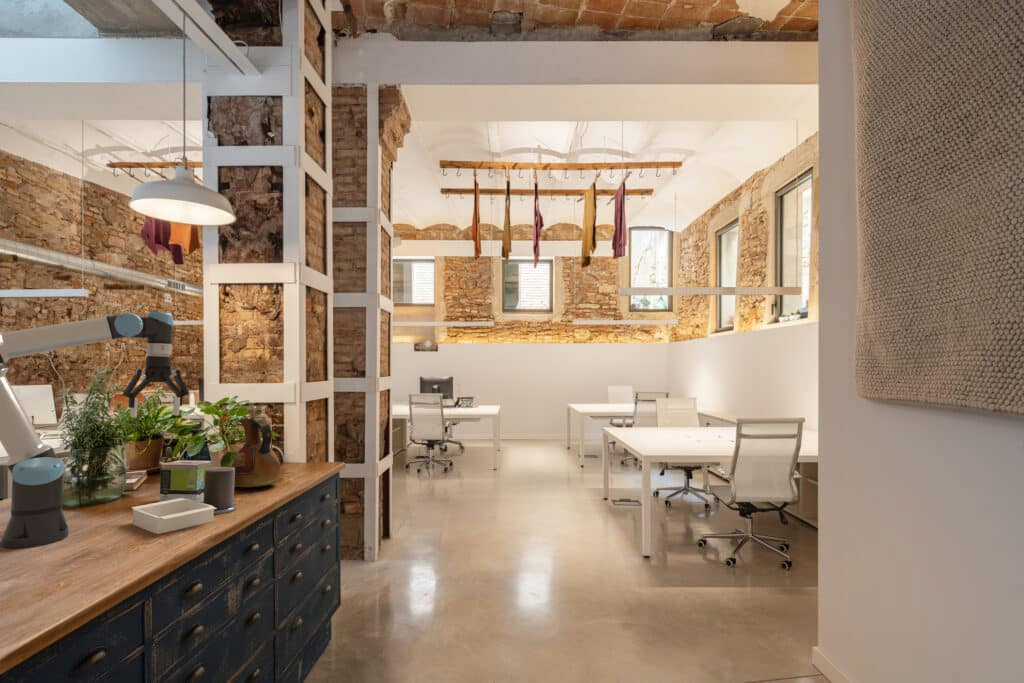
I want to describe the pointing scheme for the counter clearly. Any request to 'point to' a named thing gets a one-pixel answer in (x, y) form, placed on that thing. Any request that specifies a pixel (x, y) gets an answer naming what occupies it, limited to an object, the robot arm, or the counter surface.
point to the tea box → (183, 480)
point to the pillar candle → (219, 487)
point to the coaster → (226, 510)
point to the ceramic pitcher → (256, 456)
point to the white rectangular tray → (172, 515)
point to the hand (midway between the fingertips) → (155, 416)
